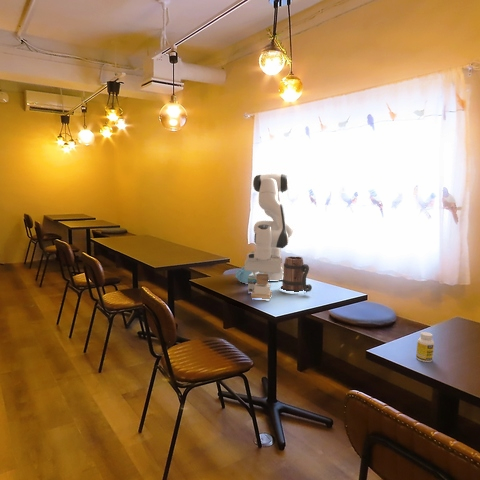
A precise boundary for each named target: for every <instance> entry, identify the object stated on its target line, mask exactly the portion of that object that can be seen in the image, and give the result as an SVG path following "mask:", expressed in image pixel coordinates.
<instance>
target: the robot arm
mask: <svg viewBox="0 0 480 480" xmlns="http://www.w3.org/2000/svg"><path fill="white" fill-rule="evenodd" d="M252 181H253V182H252V187H253V189H254V191H256V192H257V193H258V205H259V207H260V208H261V209H262V210H264V213H265V215H267V217H270V218H271V219H272V220H259V221H257V222H255V224H254V226H253V232H254V237H253V238H254V241H253V243H254V244H255V250H254V251H251V252H248V253H247V254H246V259H245V260H244V265H243V267H244V269H245V271H253V274H254V276H255V280H257V276H256V274H255V273H256V272H258V273H259V272H263V273H266V274H268V277H267V280H269V281H270V280H280V279H282V278H283V274H284V267H282V263H283V258H282V257H281V254H282V253H281V251H282V249H283V248H285V247H287V245H288V243H289V238H291V236H292V234H293V232H294V229H293V225H292V224H291V223H290V222H289V221H288V220H287V219H286V217H285V211H284V206H283V204H282V193H284V192H286V191H287V190H288V189H289V186H290V180H289V176H288V175H286V174H277V173H271V174H259V175H258V174H257V175H256V176H255V177H253V180H252Z"/></svg>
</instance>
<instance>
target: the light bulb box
mask: <svg viewBox="0 0 480 480" xmlns="http://www.w3.org/2000/svg"><path fill="white" fill-rule="evenodd" d="M258 273H259V272H256V273H255V274H256V276H257V274H258ZM256 283H257V280H255V276H254V274H253V273H251V274H250V275H248V285H247V292H248V291H249V292H253V291H254V289H255V284H256Z"/></svg>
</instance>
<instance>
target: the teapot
mask: <svg viewBox="0 0 480 480" xmlns="http://www.w3.org/2000/svg"><path fill="white" fill-rule="evenodd" d="M251 273H253V271H245V269H244V266H242V267H241V269H237V270H236V272H235V275H234V277H235V278H236V279H237V280H238V281H240V282H243V283H248V275H250V274H251ZM258 273H263V272H258ZM240 282H239V283H240Z"/></svg>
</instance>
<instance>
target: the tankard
mask: <svg viewBox="0 0 480 480" xmlns="http://www.w3.org/2000/svg"><path fill="white" fill-rule="evenodd" d="M309 271H310V266H309V264H304V259H303V257H302V256H286V257H285V259H284V263H283V273H284V274H283V281H281V282H282V285H281V286H280V288H281V289H283V290H286V291H294V292H299V291H303V290H304V291H306V293H308V292H311V291H312V285H311V284H309V283H308V284H307V276H308V273H309Z"/></svg>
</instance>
